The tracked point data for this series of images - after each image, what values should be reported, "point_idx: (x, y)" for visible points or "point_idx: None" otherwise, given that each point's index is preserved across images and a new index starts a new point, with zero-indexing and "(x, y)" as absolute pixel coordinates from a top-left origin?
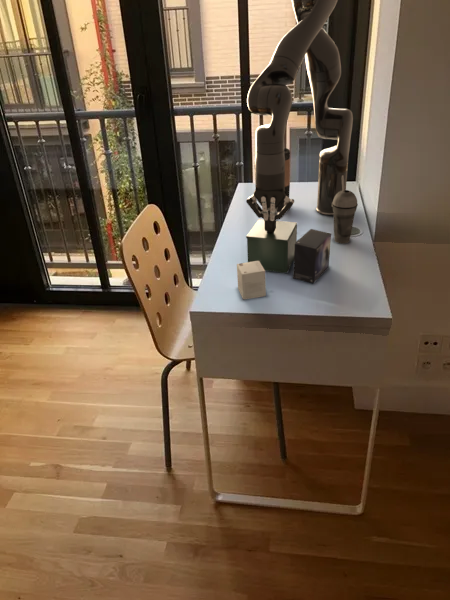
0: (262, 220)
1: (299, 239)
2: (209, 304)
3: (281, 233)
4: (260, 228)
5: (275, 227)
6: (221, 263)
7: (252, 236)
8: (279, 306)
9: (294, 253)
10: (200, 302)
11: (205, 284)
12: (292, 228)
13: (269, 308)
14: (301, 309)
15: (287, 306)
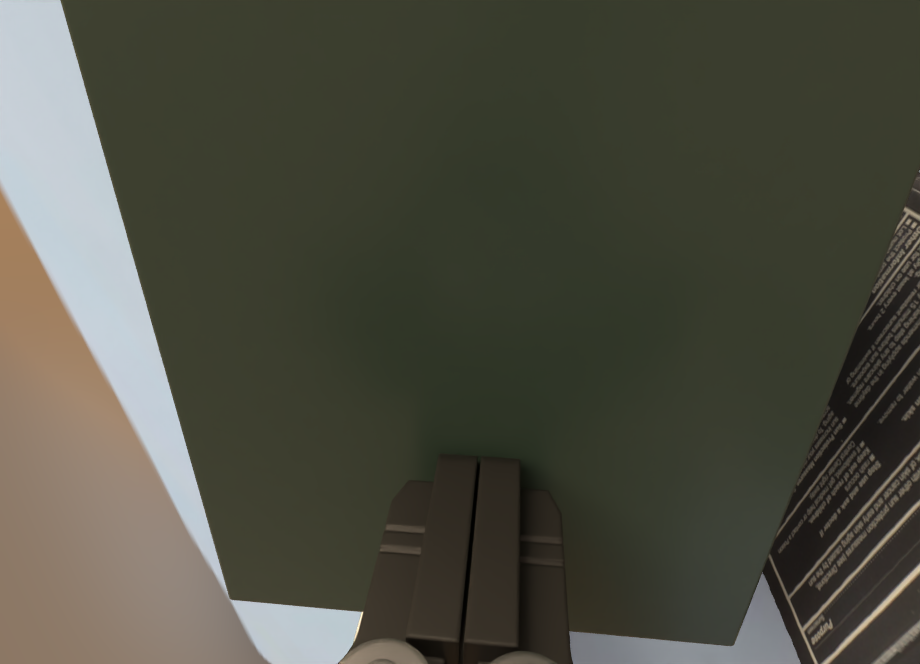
0: (163, 25)
1: (902, 662)
2: (305, 649)
3: (646, 506)
4: (294, 391)
5: (555, 540)
6: (118, 295)
7: (300, 601)
8: (632, 643)
9: (779, 608)
10: (259, 641)
11: (188, 527)
12: (835, 322)
13: (585, 656)
14: (746, 653)
15: (673, 641)
